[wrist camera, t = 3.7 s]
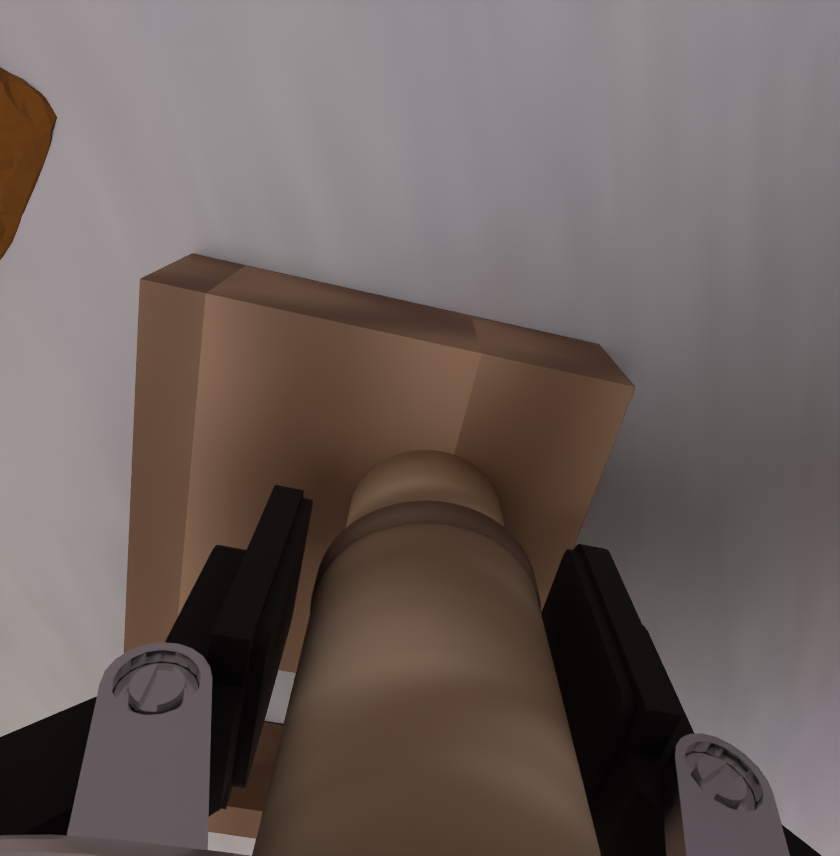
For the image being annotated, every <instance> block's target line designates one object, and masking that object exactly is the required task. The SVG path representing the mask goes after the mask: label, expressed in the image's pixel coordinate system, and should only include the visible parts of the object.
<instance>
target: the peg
mask: <svg viewBox="0 0 840 856" xmlns="http://www.w3.org/2000/svg"><path fill="white" fill-rule="evenodd" d="M252 856H601V854H600V850H599V846H598V842H597V837H596V833H595V829H594V825H593V821H592V817H591V813H590V809H589V805H588V801H587V797H586V793H585V789H584V785H583V781H582V777H581V773H580V769H579V765H578V761H577V757H576V753H575V749H574V745H573V741H572V737H571V732H570V728H569V724H568V720H567V716H566V712H565V708H564V704H563V700H562V696H561V692H560V688H559V684H558V680H557V676H556V672H555V668H554V664H553V660H552V656H551V652H550V648H549V644H548V640H547V636H546V632H545V627H544V623H543V619H542V615H541V601H540V596H539V591H538V587H537V583H536V579H535V575H534V571H533V568H532V565H531V563H530V560H529V558H528V556H527V554H526V552H525V551H524V549H523V547H522V546H521V544H520V543H519V542H518V541H517V539H516V538H515V537H514V536H513V535H512V534H511V533H510V532H509V531H508V530H507V529H506V528H505V527H504V522H503V517H502V512H501V507H500V503H499V498H498V496H497V493H496V491H495V489H494V487H493V485H492V483H491V482H490V481H489V479H488V478H487V477H486V475H485V474H484V473H483V472H482V471H481V470H479V469H478V468H477V467H476V466H474V465H473V464H472V463H470V462H468V461H467V460H465V459H463V458H461V457H458V456H456V455H453V454H450V453H446V452H442V451H435V450H415V451H409V452H404V453H400V454H397V455H394V456H392V457H390V458H388V459H386V460H384V461H382V462H380V463H379V464H377V465H376V466H375V467H373V468H372V469H371V470H370V471H369V472H368V473H367V474H366V475H365V476H364V477H363V478H362V480H361V481H360V483H359V484H358V486H357V488H356V490H355V492H354V494H353V497H352V501H351V504H350V509H349V514H348V519H347V524H346V528H345V529H344V530H343V531H342V532H341V533H340V534H339V535H338V536H337V537H336V538H335V539H334V541H333V542H332V543H331V545H330V546H329V548H328V549H327V551H326V552H325V554H324V556H323V558H322V560H321V563H320V565H319V569H318V572H317V576H316V580H315V584H314V588H313V592H312V596H311V605H310V617H309V621H308V625H307V630H306V634H305V638H304V642H303V646H302V650H301V655H300V659H299V663H298V667H297V671H296V675H295V679H294V684H293V688H292V692H291V696H290V700H289V704H288V709H287V713H286V717H285V721H284V725H283V729H282V734H281V738H280V742H279V746H278V750H277V754H276V759H275V763H274V767H273V771H272V775H271V779H270V784H269V788H268V792H267V796H266V800H265V804H264V809H263V813H262V817H261V821H260V825H259V829H258V834H257V838H256V842H255V846H254V850H253V854H252Z"/></svg>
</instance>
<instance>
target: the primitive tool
mask: <svg viewBox="0 0 840 856" xmlns="http://www.w3.org/2000/svg"><path fill="white" fill-rule="evenodd" d="M56 119H57V117H56V115H55V113H54V111H53V110H52V108H51V106H50V104H49V103H48V101H47V99H46V98H45V97H44V96H43V95H42V94H41V93H40V92H38V91H36V90H35V89H33V88H31V87H30V86H28V85H27V84H26V83H25V82H24V81H23V80H22V79H21V78H19V77H17V76H14V75H12V74H10V73H8V72H7V71H5V70H3V69H2V68H0V260H1V258H2V257H3V255H4V254H5V252H6V250H7V248H8V247H9V246H10V244H11V243H12V242H13V239H14V237H15V234H16V232H17V229H18V227H19V223H20V220H21V217H22V214H23V213H24V211H25V208H26V206H27V203H28V201H29V199H30V197H31V195H32V192H33V190H34V188H35V185H36V183H37V180H38V178H39V175H40V173H41V170H42V168H43V165H44V162H45V159H46V156H47V152H48V149H49V146H50V142H51V138H52V131H53V129H54V126H55V122H56Z"/></svg>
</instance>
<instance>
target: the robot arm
mask: <svg viewBox="0 0 840 856" xmlns="http://www.w3.org/2000/svg"><path fill="white" fill-rule="evenodd" d="M303 495H304V490H300V489H295V488H290V487H284V486H279V485H275V486H274V488H273V490H272V492H271V495H270V497H269V499H268V502H267V504H266V506H265V508H264V511H263V513H262V515H261V518H260V520H259V522H258V525H257V527H256V529H255V532H254V534H253V536H252V538H251V541H250V543H249V545H248V548H247V550H244V549H238V548H233V547H227V546H222V545H216V546H215V547H214V548H213V550H212V552H211V554H210V555H209V557H208V559H207V561H206V563H205V565H204V567H203V569H202V571H201V573H200V575H199V577H198V579H197V581H196V583H195V585H194V586H193V588H192V590H191V592H190V594H189V596H188V598H187V600H186V602H185V604H184V606H183V608H182V610H181V612H180V614H179V615H178V617H177V619H176V621H175V623H174V625H173V627H172V629H171V631H170V633H169V635H168V637H167V639H166V641H165V642H160V643H152V644H145V645H142V646H140V647H137V648H134V649H131V650H129V651H127V652H126V653H124V654H123V655H121V656H120V657H118V658H116V659H115V660H114V661H113V663H112V664H111V665H110V666H109V667H108V668H107V669H106V670H105V672H104V675H103V677H102V679H101V682H100V685H99V690H98V694H97V697H94V698H92V699H90V700H87V701H85V702H83V703H80V704H78V705H75V706H73V707H71V708H68V709H66V710H64V711H61V712H59V713H57V714H54V715H52V716H49V717H47V718H45V719H42V720H40V721H38V722H35V723H33V724H30V725H28V726H26V727H23V728H21V729H19V730H16V731H14V732H12V733H9V734H7V735H4V736H2V737H0V856H249V855H241V854H234V853H227V852H219V851H210V850H208V817H209V816H211V815H212V814H214V813H216V812H217V811H219V810H220V809H226V808H227V804H228V801H229V798H230V794H231V791H232V788H233V786H234V787H240V788H246V785H247V782H248V778H249V775H250V771H251V767H252V764H253V760H254V756H255V753H256V749H257V746H258V742H259V738H260V735H261V731H262V727H263V724H264V720H265V716H266V713H267V709H268V706H269V702H270V698H271V695H272V691H273V687H274V684H275V680H276V676H277V673H278V669H279V666H280V662H281V658H282V655H283V651H284V647H285V644H286V640H287V636H288V633H289V629H290V625H291V621H292V616H293V612H294V606H295V601H296V595H297V590H298V584H299V578H300V573H301V567H302V562H303V556H304V551H305V545H306V539H307V534H308V528H309V523H310V517H311V512H312V506H313V500H312V499H306V498H303ZM541 615H542V619H543V623H544V627H545V632H546V636H547V640H548V644H549V648H550V652H551V656H552V660H553V664H554V668H555V672H556V676H557V680H558V684H559V688H560V692H561V696H562V700H563V704H564V708H565V712H566V716H567V720H568V724H569V728H570V732H571V737H572V741H573V745H574V749H575V753H576V757H577V761H578V765H579V769H580V773H581V777H582V781H583V785H584V789H585V793H586V797H587V801H588V805H589V809H590V813H591V817H592V821H593V825H594V829H595V833H596V837H597V842H598V846H599V850H600V854H601V856H821V855H820V854H819V853H817V852H816V851H815V850H814V849H812V848H811V847H810V846H808V845H807V844H806V843H805V842H803V841H802V840H801V839H800V838H798V837H797V836H796V835H794V834H793V833H792V832H791V831H789V830H788V829H787V828H785V827H784V826H783V825H782V824H781V821H780V817H779V813H778V810H777V806H776V802H775V798H774V795H773V792H772V790H771V787H770V785H769V783H768V780H767V779H766V778H765V776H764V775H763V773H762V772H761V771H760V769H759V768H758V767H757V766H756V765H755V764H754V763H753V762H752V761H751V760H750V759H749V758H748V757H747V756H746V755H745V754H744V753H742V752H741V751H740V750H738V749H737V748H735V747H734V746H733V745H731V744H729V743H727V742H725V741H723V740H721V739H719V738H717V737H714V736H710V735H706V734H694V732H693V730H692V727H691V725H690V723H689V721H688V719H687V716H686V714H685V712H684V710H683V708H682V705H681V703H680V701H679V699H678V697H677V694H676V692H675V690H674V688H673V686H672V684H671V681H670V679H669V677H668V675H667V673H666V670H665V668H664V666H663V664H662V662H661V659H660V657H659V655H658V653H657V651H656V648H655V646H654V644H653V642H652V640H651V637H650V635H649V633H648V631H647V630H646V628H645V627H644V625H642V623H641V621H640V619H639V617H638V614H637V612H636V610H635V608H634V605H633V603H632V601H631V599H630V597H629V594H628V592H627V590H626V588H625V586H624V583H623V581H622V579H621V577H620V574H619V572H618V570H617V568H616V566H615V563H614V561H613V559H612V557H611V554H610V553H609V551H608V550H606V549H603V548H597V547H592V546H587V545H582V544H578V545H577V546H576V547H575V548H574V550H569V549H568V550H566V551H565V553H564V555H563V557H562V560H561V562H560V565H559V567H558V570H557V573H556V575H555V578H554V581H553V583H552V586H551V588H550V591H549V594H548V596H547V599H546V602H545V604H544V607H543V609H542V612H541Z"/></svg>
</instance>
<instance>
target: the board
mask: <svg viewBox="0 0 840 856" xmlns="http://www.w3.org/2000/svg"><path fill="white" fill-rule="evenodd" d="M634 390H635V386H634V385H633V384H632V382H631V381H630V380H629V379H628V378H627V377H626V375H625V374H624V373H623V372H622V371H621V370H620V368H619V367H618V366H617V365H616V364H615V363H614V361H613V360H612V359H611V358H610V357H609V356H608V354H607V353H606V352H605V351H604V350H603V349H602V347H601V346H600V345H599V344H595V343H590V342H586V341H581V340H577V339H572V338H568V337H563V336H559V335H555V334H550V333H546V332H541V331H537V330H532V329H528V328H523V327H519V326H514V325H510V324H505V323H501V322H496V321H492V320H487V319H483V318H478V317H474V316H469V315H465V314H460V313H456V312H451V311H447V310H443V309H438V308H434V307H429V306H425V305H420V304H416V303H411V302H407V301H402V300H398V299H393V298H389V297H384V296H380V295H375V294H371V293H366V292H362V291H357V290H353V289H348V288H344V287H339V286H335V285H331V284H326V283H322V282H317V281H313V280H308V279H304V278H299V277H295V276H290V275H286V274H281V273H277V272H272V271H268V270H263V269H259V268H254V267H250V266H245V265H241V264H236V263H232V262H227V261H223V260H219V259H214V258H210V257H205V256H201V255H196V254H190V255H188V256H186V257H184V258H182V259H180V260H178V261H176V262H174V263H172V264H170V265H168V266H166V267H163V268H161V269H159V270H157V271H155V272H153V273H151V274H149V275H147V276H145V277H143V278H141V279H140V292H139V315H138V338H137V361H136V384H135V407H134V431H133V454H132V477H131V500H130V523H129V546H128V569H127V592H126V616H125V639H124V653H126V652H127V651H129V650H131V649H134V648H137V647H140V646H142V645H145V644H152V643H160V642H165V641H166V639H167V637H168V635H169V633H170V631H171V629H172V627H173V625H174V623H175V621H176V619H177V617H178V615H179V614H180V612H181V610H182V608H183V606H184V604H185V602H186V600H187V598H188V596H189V594H190V592H191V590H192V588H193V586H194V585H195V583H196V581H197V579H198V577H199V575H200V573H201V571H202V569H203V567H204V565H205V563H206V561H207V559H208V557H209V555H210V554H211V552H212V550H213V548H214V547H215V546H216V545H222V546H227V547H233V548H238V549H244V550H247V548H248V545H249V543H250V541H251V538H252V536H253V534H254V532H255V529H256V527H257V525H258V522H259V520H260V518H261V515H262V513H263V511H264V508H265V506H266V504H267V502H268V499H269V497H270V495H271V492H272V490H273V488H274V486H275V485H279V486H284V487H290V488H295V489H300V490H304V495H303V498H306V499H312V500H313V506H312V512H311V517H310V523H309V528H308V534H307V539H306V545H305V551H304V556H303V562H302V567H301V573H300V578H299V584H298V590H297V595H296V601H295V606H294V612H293V616H292V621H291V625H290V629H289V633H288V636H287V640H286V644H285V647H284V651H283V655H282V658H281V662H280V666H279V669H278V670H282V671H288V672H294V673H296V671H297V667H298V663H299V659H300V655H301V650H302V646H303V642H304V638H305V634H306V630H307V625H308V621H309V617H310V605H311V596H312V592H313V588H314V584H315V580H316V576H317V572H318V569H319V565H320V563H321V560H322V558H323V556H324V554H325V552H326V551H327V549H328V548H329V546H330V545H331V543H332V542H333V541H334V539H335V538H336V537H337V536H338V535H339V534H340V533H341V532H342V531H343V530H344V529H345V528H346V524H347V519H348V514H349V509H350V504H351V501H352V497H353V494H354V492H355V490H356V488H357V486H358V484H359V483H360V481H361V480H362V478H363V477H364V476H365V475H366V474H367V473H368V472H369V471H370V470H371V469H372V468H373V467H375V466H376V465H377V464H379V463H380V462H382V461H384V460H386V459H388V458H390V457H392V456H394V455H397V454H400V453H404V452H409V451H415V450H435V451H442V452H446V453H450V454H453V455H456V456H458V457H461V458H463V459H465V460H467V461H468V462H470V463H472V464H473V465H474V466H476V467H477V468H478V469H479V470H481V471H482V472H483V473H484V474H485V475H486V477H487V478H488V479H489V481H490V482H491V483H492V485H493V487H494V489H495V491H496V493H497V496H498V498H499V503H500V507H501V512H502V517H503V522H504V527H505V528H506V529H507V530H508V531H509V532H510V533H511V534H512V535H513V536H514V537H515V538H516V539H517V541H518V542H519V543H520V544H521V546H522V547H523V549H524V551H525V552H526V554H527V556H528V558H529V560H530V563H531V565H532V568H533V571H534V575H535V579H536V583H537V587H538V591H539V596H540V601H541V612H542V609H543V607H544V604H545V602H546V599H547V596H548V594H549V591H550V588H551V586H552V583H553V581H554V578H555V575H556V573H557V570H558V567H559V565H560V562H561V560H562V557H563V555H564V553H565V551H566V550H568V549H569V550H573V547H574V545H575V542H576V540H577V537H578V534H579V532H580V529H581V527H582V524H583V522H584V519H585V516H586V514H587V511H588V509H589V506H590V503H591V501H592V498H593V496H594V493H595V491H596V488H597V485H598V483H599V480H600V478H601V475H602V472H603V470H604V467H605V465H606V462H607V459H608V457H609V454H610V452H611V449H612V447H613V444H614V441H615V439H616V436H617V434H618V431H619V428H620V426H621V423H622V421H623V418H624V416H625V413H626V410H627V408H628V405H629V403H630V400H631V397H632V395H633V392H634ZM282 729H283V725H280V724H274V723H268V722H264V724H263V727H262V731H261V735H260V738H259V742H258V746H257V749H256V753H255V756H254V760H253V764H252V767H251V771H250V775H249V778H248V782H247V785H246V788H240V787H234V786H233V788H232V791H231V794H230V798H229V801H228V804H227V808H226V809H220V810H219V811H217V812H216V813H214V814H212V815H211V816H209V817H208V832H215V833H222V834H228V835H235V836H242V837H249V838H257V834H258V829H259V825H260V821H261V817H262V813H263V809H264V804H265V800H266V796H267V792H268V788H269V784H270V779H271V775H272V771H273V767H274V763H275V759H276V754H277V750H278V746H279V742H280V738H281V734H282Z"/></svg>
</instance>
